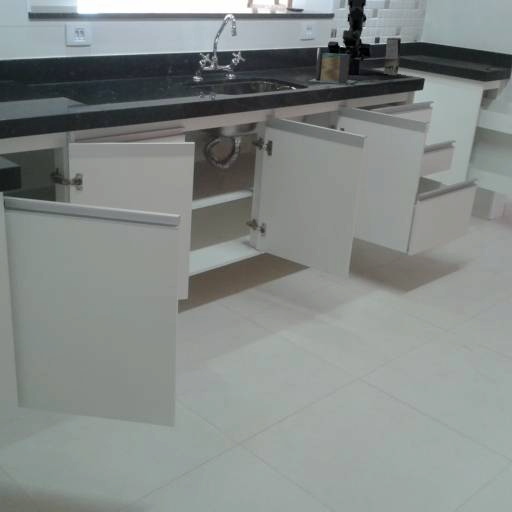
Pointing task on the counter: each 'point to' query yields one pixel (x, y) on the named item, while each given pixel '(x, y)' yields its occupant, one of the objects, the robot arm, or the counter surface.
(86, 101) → the counter surface
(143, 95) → the counter surface
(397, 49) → the coffee box
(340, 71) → the gate frame
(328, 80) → the gate mat
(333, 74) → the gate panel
